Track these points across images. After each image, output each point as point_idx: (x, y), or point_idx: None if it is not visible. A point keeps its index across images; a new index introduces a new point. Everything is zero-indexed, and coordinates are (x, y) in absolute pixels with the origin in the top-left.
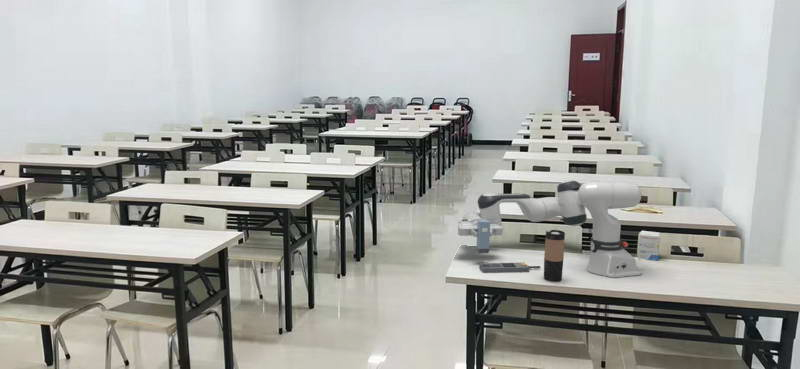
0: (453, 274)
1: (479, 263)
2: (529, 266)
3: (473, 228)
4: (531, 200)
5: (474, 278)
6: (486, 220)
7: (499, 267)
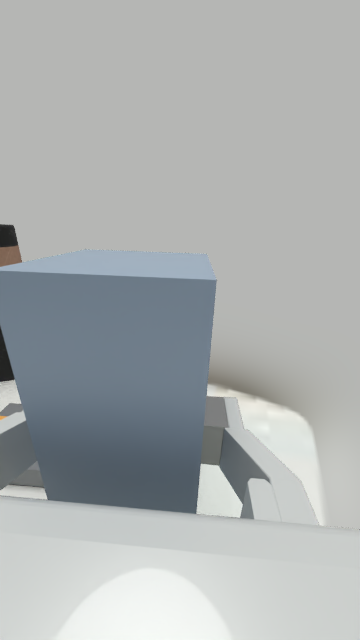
0: (309, 431)
1: None
2: None
3: (271, 523)
4: None
5: (232, 393)
6: (71, 260)
7: None
